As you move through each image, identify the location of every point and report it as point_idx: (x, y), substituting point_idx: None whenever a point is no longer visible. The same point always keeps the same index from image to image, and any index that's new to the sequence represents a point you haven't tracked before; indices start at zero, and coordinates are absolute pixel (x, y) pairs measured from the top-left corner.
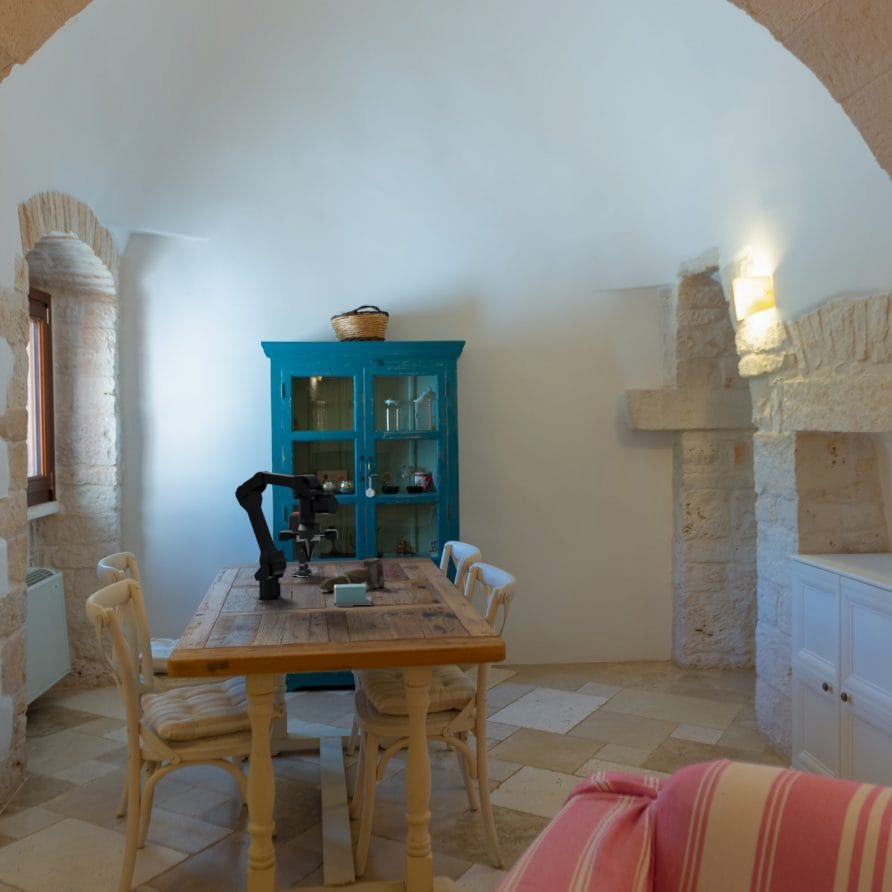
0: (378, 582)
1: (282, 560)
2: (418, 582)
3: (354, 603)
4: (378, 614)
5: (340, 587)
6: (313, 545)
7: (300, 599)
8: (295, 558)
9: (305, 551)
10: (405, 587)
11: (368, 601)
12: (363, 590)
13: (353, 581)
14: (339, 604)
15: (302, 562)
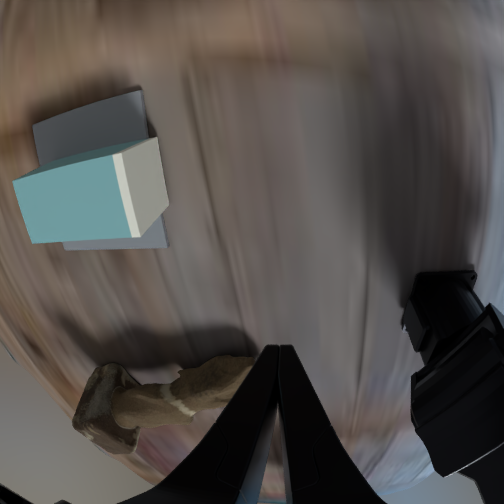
0: (100, 375)
1: (445, 418)
2: (64, 386)
3: (80, 134)
4: (13, 7)
5: (91, 158)
6: (171, 496)
7: (331, 262)
8: None
9: (314, 435)
10: (59, 355)
11: None
12: (28, 174)
13: (155, 383)
14: (130, 111)
15: None
